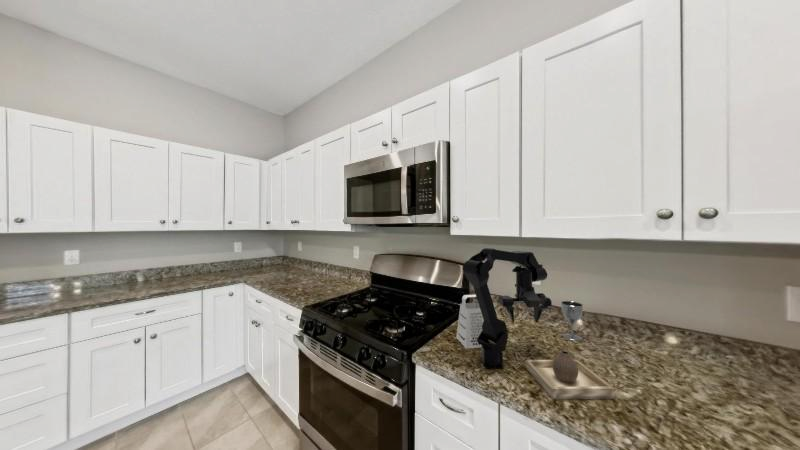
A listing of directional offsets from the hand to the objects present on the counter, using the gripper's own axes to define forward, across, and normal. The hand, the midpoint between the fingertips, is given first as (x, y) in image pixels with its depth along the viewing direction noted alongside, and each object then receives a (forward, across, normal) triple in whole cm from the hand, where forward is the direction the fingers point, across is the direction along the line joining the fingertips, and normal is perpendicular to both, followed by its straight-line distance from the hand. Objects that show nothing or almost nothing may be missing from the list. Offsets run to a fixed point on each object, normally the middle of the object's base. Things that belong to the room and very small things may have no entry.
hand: (524, 322), depth 101 cm
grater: (+12, -18, +10) cm, 24 cm away
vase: (+11, +4, -19) cm, 22 cm away
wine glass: (+12, +28, +14) cm, 34 cm away
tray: (+12, +4, -19) cm, 23 cm away
